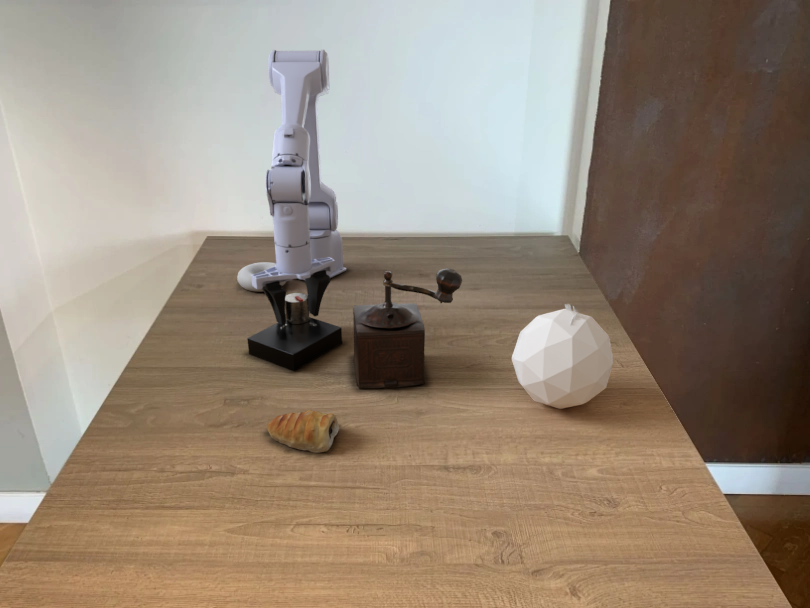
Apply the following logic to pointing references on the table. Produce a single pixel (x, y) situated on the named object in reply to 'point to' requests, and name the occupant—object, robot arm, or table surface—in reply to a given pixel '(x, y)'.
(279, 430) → the pastry
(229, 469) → the table surface
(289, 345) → the stove
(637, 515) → the table surface
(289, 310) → the stove knob
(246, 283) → the donut
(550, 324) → the geodesic sphere
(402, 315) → the manual coffee grinder
